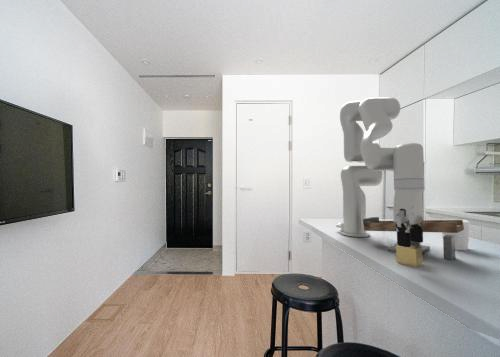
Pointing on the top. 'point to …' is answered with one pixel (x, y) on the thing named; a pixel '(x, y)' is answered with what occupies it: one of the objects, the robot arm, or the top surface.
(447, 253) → the block
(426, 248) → the pivot stand
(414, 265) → the block
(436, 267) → the top surface
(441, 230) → the beam
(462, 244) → the white cup
